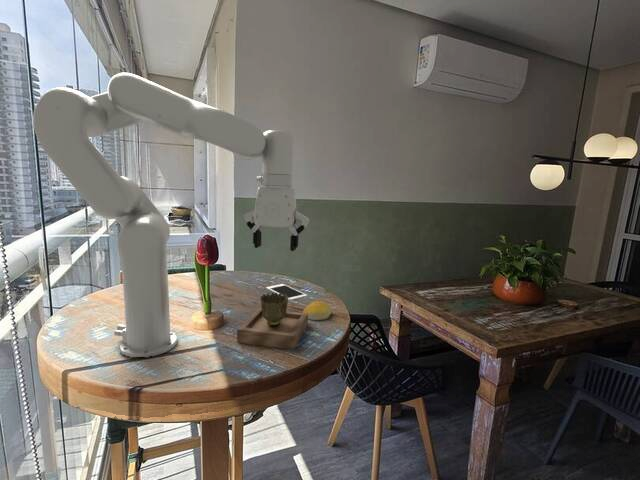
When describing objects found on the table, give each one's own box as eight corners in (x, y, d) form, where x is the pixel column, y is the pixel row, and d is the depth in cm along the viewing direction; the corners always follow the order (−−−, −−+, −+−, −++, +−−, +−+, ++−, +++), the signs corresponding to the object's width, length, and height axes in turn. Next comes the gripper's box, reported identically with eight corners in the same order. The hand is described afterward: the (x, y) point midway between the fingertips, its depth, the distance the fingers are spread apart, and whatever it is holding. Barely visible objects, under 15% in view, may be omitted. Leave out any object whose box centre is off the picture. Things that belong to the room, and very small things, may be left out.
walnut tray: (237, 344, 88) (237, 329, 87) (258, 321, 102) (258, 308, 101) (293, 352, 85) (294, 336, 84) (307, 327, 99) (307, 313, 99)
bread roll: (299, 318, 104) (299, 306, 103) (310, 308, 112) (311, 297, 112) (324, 323, 101) (325, 310, 101) (334, 313, 109) (335, 301, 109)
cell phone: (282, 285, 136) (282, 283, 136) (307, 296, 124) (307, 295, 124) (265, 288, 131) (265, 287, 131) (290, 301, 119) (290, 299, 119)
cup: (261, 318, 96) (261, 291, 95) (287, 319, 97) (288, 292, 95) (258, 330, 89) (259, 301, 88) (287, 331, 90) (288, 302, 88)
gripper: (238, 180, 84) (238, 248, 87) (306, 183, 81) (304, 254, 84) (250, 180, 91) (249, 243, 94) (313, 183, 88) (310, 248, 91)
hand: (275, 248), depth 89 cm, fingers open, 9 cm apart
